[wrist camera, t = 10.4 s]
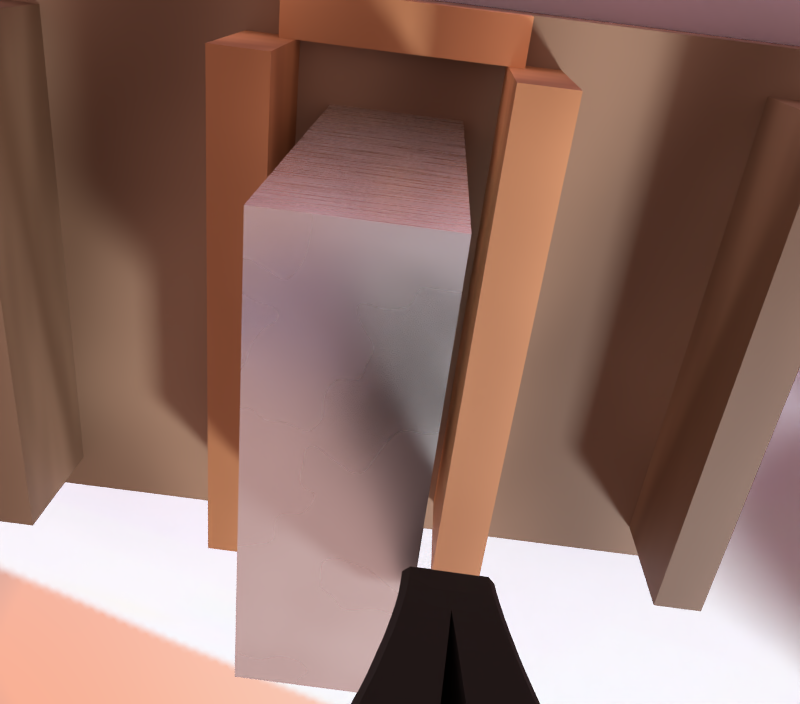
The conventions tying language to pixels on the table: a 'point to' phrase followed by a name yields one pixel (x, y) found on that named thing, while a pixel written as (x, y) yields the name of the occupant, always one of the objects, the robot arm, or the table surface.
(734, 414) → the rack
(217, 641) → the table surface
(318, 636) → the wooden block
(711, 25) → the table surface
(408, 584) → the robot arm
